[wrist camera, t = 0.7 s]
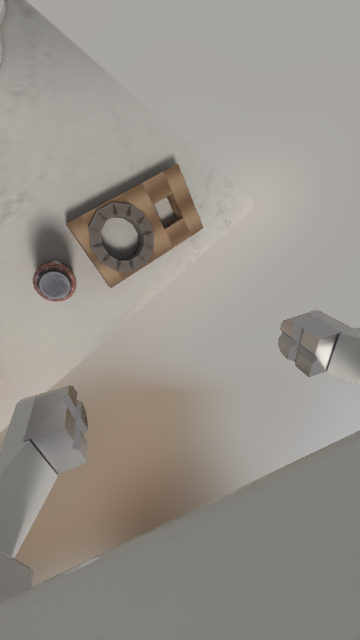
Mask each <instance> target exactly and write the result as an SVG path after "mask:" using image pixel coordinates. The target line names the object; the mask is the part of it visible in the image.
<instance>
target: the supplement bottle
mask: <svg viewBox="0 0 360 640" xmlns="http://www.w3.org/2000/svg"><path fill="white" fill-rule="evenodd" d="M33 285H34V288H35V290H36V291H37V293H38V294H39V295H40V296H42V297H43V298H45V299H47V300H50V301H63V300H66V299H68V298H69V297H71V296H72V295H73V293H74V292H75V289H76V278H75V276H74V274H73V272H72V270H71V269H70V268H69V267H68V266H67V265H66V264H64V263H62V262H59V261H49V262H46V263H44V264H42V265H41V266H40V267H39V268H38V269H37V270H36V272H35V274H34V277H33Z"/></svg>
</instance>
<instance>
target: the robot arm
mask: <svg viewBox="0 0 360 640" xmlns="http://www.w3.org/2000/svg"><path fill="white" fill-rule="evenodd" d="M5 12H6V0H0V64H1V60H2V53H3V46H2V36H1V23H2V21H3V18H4V16H5ZM280 329H281V331H282V332H283V333H282V334H281V336H280V337H279V341H278V345H279V349H280V351H281V353H282V354H283V355H284V356H285V357H286V358H287V359H289V360H292V361H295V365H296V367H297V368H298V369H300V370H301V371H302V372H303V373H304V374H306V375H307V376H308V377H311V376H314V375H317V374H319V373H322V372H325V371H327V372H328V373H331V374H333V375H335V376H338V377H340V378H342V379H345V380H347V381H350V382H352V383H354V384H356V385H359V386H360V328H354V329H353V328H351V327H350V326H348V325H346V324H344V323H342V322H340V321H338V320H336V319H334V318H332V317H330V316H329V315H327V314H325V313H323V312H321V311H317V310H314V311H311V312H308V313H305V314H303V315H299V316H296V317H293V318H290V319H287V320H284V321H283V322H282V324H281V328H280ZM87 430H88V421H87V415H86V411H85V408H84V405H83V404H82V402H81V401H78V400H77V392H76V390H75V388H74V386H67V387H63V388H60V389H56V390H53V391H49V392H45V393H42V394H38V395H36V396H32V397H29V398H25V399H22V400H20V401H19V402H18V403H17V405H16V407H15V410H14V413H13V416H12V419H11V422H10V424H9V428H8V430H7V433H6V436H5V439H4V441H3V444H2V447H1V450H0V640H360V431H358V432H356V433H353V434H351V435H349V436H347V437H345V438H343V439H341V440H339V441H337V442H335V443H333V444H330V445H328V446H326V447H324V448H322V449H320V450H318V451H316V452H314V453H312V454H310V455H307V456H305V457H303V458H301V459H299V460H297V461H295V462H293V463H291V464H289V465H286V466H284V467H282V468H280V469H278V470H276V471H274V472H272V473H270V474H268V475H266V476H264V477H261V478H259V479H257V480H255V481H253V482H251V483H249V484H247V485H244V486H243V487H240V488H238V489H236V490H234V491H232V492H230V493H228V494H226V495H224V496H222V497H219V498H218V499H215V500H213V501H211V502H209V503H207V504H205V505H203V506H201V507H199V508H196V509H194V510H192V511H190V512H188V513H186V514H184V515H182V516H180V517H178V518H176V519H173V520H171V521H169V522H167V523H165V524H163V525H161V526H159V527H157V528H155V529H152V530H150V531H148V532H146V533H144V534H142V535H140V536H138V537H136V538H134V539H132V540H129V541H127V542H125V543H123V544H121V545H119V546H117V547H115V548H113V549H111V550H108V551H106V552H105V553H102V554H100V555H98V556H96V557H94V558H92V559H90V560H88V561H86V562H83V563H81V564H79V565H77V566H75V567H73V568H71V569H69V570H67V571H65V572H62V573H60V574H58V575H56V576H54V577H52V578H50V579H48V580H46V581H44V582H42V583H39V584H37V585H35V586H33V587H31V583H32V577H33V570H32V569H31V568H30V567H29V566H27V565H25V564H24V563H22V562H20V561H18V560H16V559H15V556H16V554H17V552H18V550H19V548H20V546H21V545H22V543H23V541H24V539H25V537H26V535H27V533H28V531H29V530H30V528H31V526H32V524H33V522H34V520H35V518H36V516H37V515H38V513H39V511H40V509H41V507H42V505H43V503H44V502H45V500H46V498H47V496H48V494H49V492H50V490H51V488H52V487H53V485H54V483H55V481H56V479H57V477H58V475H57V474H60V473H62V472H65V471H67V470H69V469H72V468H74V467H77V466H79V465H81V464H84V463H86V462H87V440H86V439H85V437H84V434H85V433H86V431H87Z"/></svg>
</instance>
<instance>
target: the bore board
mask: <svg viewBox="0 0 360 640" xmlns="http://www.w3.org/2000/svg"><path fill="white" fill-rule="evenodd" d="M165 197H167V198H168V200H169V203H170V205H171V207H172V209H173V212H174V214H175V216H176V218H177V220H176V221H174V222H172V223H171V224H169V225H167V226H166V227H163V225H162V223H161V221H160V219H159V217H158V215H157V213H156V211H155V209H154V207H153V204H155V203H157V202H158V201H160V200H162V199H164V198H165ZM112 217H115V218H124V219H125V220H127V221H128V222H130V223H131V224H133V226H134V228H135V229H136V231H137V233H138V237H139V246H138V248H137V250H136V252H135V254H134V255H133V256H131V257H130V258H128V259H127V260H117V259H115V258H113V257H112V256H110V255H109V254H108V253H107V251H106V250H105V248H104V247H103V245H102V238H101V230H102V228H103V226H104V224H105V222H106V221H107V220H109V219H110V218H112ZM66 225H67V227H68V228H69V230H70V231H71V233H72V234H73V235H74V237H75V238H76V240H77V241H78V243H79V244H80V245H81V247H82V248H83V250H84V251H85V253H86V254H87V256H88V257H89V258H90V260H91V261H92V263H93V264H94V266H95V267H96V269H97V270H98V271H99V273H100V274H101V276H102V277H103V279H104V280H105V282H106V283H107V284H108V286H109V287H111V288H112V287H114V286H115V285H117V284H118V283H120V282H121V281H123V280H124V279H126V278H127V277H129V276H131V275H132V274H134V273H135V272H137V271H138V270H140V269H141V268H143V267H144V266H146V265H147V264H149V263H151V262H152V261H154V260H155V259H157V258H158V257H160V256H161V255H163V254H164V253H166V252H167V251H169V250H171V249H172V248H174V247H175V246H177V245H178V244H180V243H181V242H183V241H184V240H186V239H187V238H189V237H191V236H192V235H194V234H195V233H197V232H198V231H200V230H201V229H203V226H202V223H201V221H200V218H199V216H198V213H197V211H196V208H195V206H194V203H193V201H192V198H191V196H190V193H189V191H188V188H187V186H186V183H185V181H184V178H183V176H182V173H181V171H180V168H179V166H178V164H176V165H174V166H173V167H171V168H169V169H167V170H165V171H163V172H161V173H160V174H158V175H156V176H154V177H152V178H150V179H148V180H147V181H145V182H143V183H141V184H139V185H137V186H135V187H134V188H132V189H130V190H128V191H126V192H124V193H122V194H120V195H119V196H117V197H115V198H113V199H111V200H109V201H107V202H106V203H104V204H102V205H100V206H98V207H96V208H94V209H93V210H91V211H89V212H87V213H85V214H83V215H81V216H80V217H78V218H76V219H74V220H72V221H70V222H68V223H67V224H66Z"/></svg>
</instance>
